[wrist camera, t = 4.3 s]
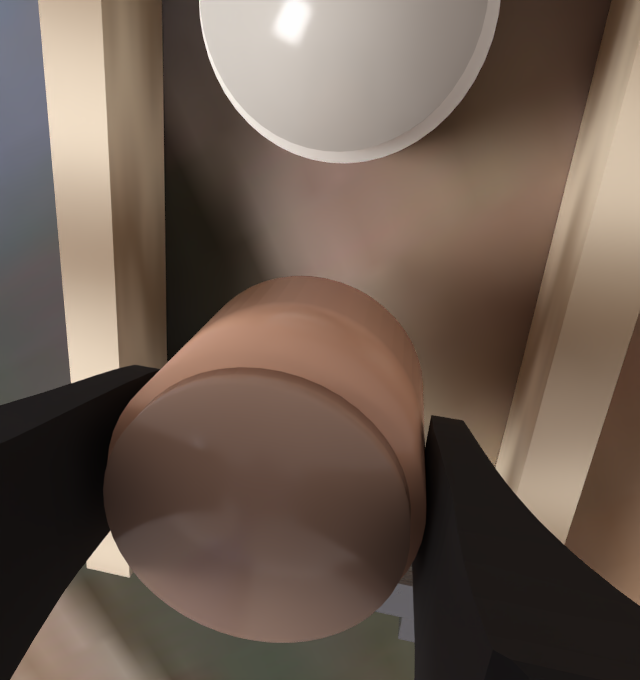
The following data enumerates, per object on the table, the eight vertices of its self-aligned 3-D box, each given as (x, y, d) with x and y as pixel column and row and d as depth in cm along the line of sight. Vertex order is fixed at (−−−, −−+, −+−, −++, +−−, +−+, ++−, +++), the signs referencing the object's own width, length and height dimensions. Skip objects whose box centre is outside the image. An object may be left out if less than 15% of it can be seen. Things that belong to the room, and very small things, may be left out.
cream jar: (459, 162, 15) (470, 181, 10) (258, 140, 16) (186, 149, 11) (503, -91, 13) (542, -206, 8) (269, -101, 14) (185, -212, 9)
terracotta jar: (394, 504, 14) (384, 686, 10) (188, 455, 15) (87, 607, 10) (449, 304, 12) (469, 417, 8) (207, 253, 13) (90, 332, 8)
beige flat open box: (512, 589, 19) (524, 666, 17) (131, 510, 21) (87, 567, 19) (734, -180, 12) (828, -274, 9) (100, -194, 14) (15, -275, 11)
